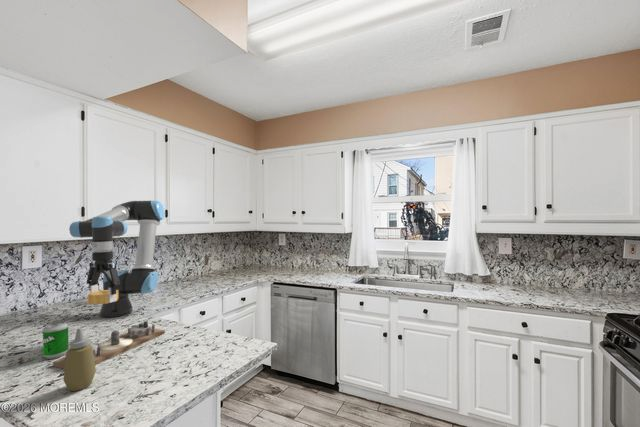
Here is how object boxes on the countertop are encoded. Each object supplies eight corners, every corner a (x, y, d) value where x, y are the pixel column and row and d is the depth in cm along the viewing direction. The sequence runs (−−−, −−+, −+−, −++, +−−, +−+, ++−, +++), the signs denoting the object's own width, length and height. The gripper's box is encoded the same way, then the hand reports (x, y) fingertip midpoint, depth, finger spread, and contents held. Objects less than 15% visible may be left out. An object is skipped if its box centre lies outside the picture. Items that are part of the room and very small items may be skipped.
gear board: (141, 330, 144) (141, 315, 144) (164, 333, 140) (164, 318, 140) (53, 366, 110) (52, 346, 110) (79, 372, 106) (79, 352, 106)
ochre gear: (107, 297, 143) (107, 288, 143) (123, 299, 140) (123, 290, 140) (82, 303, 133) (82, 294, 133) (99, 305, 129) (99, 296, 129)
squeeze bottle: (102, 379, 101) (101, 324, 101) (83, 393, 93) (82, 333, 93) (76, 380, 101) (75, 324, 101) (56, 394, 92) (55, 334, 93)
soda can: (66, 349, 124) (65, 319, 125) (70, 354, 120) (70, 323, 120) (41, 356, 119) (40, 325, 119) (45, 361, 114) (44, 329, 114)
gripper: (76, 251, 137) (76, 301, 137) (112, 252, 129) (113, 305, 129) (93, 249, 144) (94, 296, 144) (129, 250, 136) (130, 300, 136)
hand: (103, 300), depth 136 cm, fingers closed on ochre gear, 11 cm apart
